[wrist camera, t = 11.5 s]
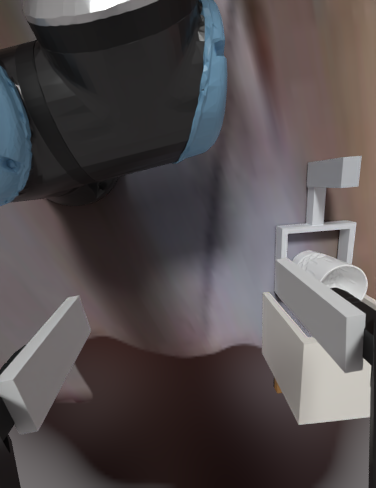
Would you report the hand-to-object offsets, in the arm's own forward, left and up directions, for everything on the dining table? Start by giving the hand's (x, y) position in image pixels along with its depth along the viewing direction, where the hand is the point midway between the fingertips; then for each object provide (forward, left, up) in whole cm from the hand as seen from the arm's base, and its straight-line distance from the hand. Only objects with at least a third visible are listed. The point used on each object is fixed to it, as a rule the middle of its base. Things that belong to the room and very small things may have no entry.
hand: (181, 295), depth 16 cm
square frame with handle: (+3, +24, -27) cm, 36 cm away
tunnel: (+22, +24, -27) cm, 42 cm away
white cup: (+10, +24, -27) cm, 38 cm away
